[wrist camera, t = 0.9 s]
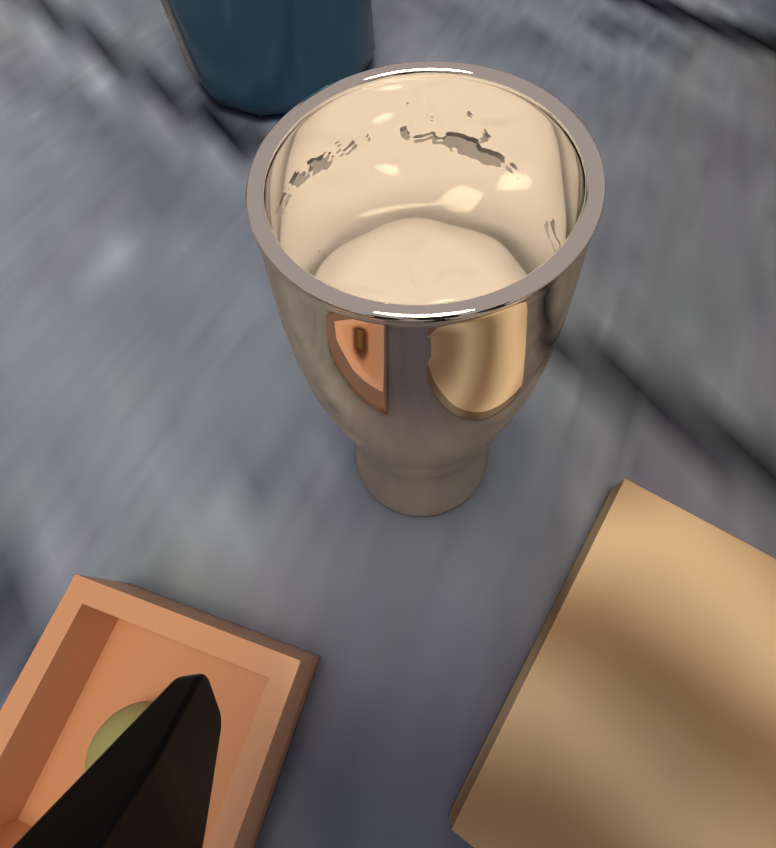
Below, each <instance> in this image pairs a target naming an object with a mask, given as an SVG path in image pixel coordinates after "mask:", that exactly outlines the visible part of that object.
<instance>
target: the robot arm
mask: <svg viewBox="0 0 776 848" xmlns="http://www.w3.org/2000/svg"><path fill="white" fill-rule="evenodd" d="M220 733H221V714H220V710H219V707H218V704H217V701H216V699H215V696H214V693H213V690H212V687H211V684H210V682H209V679H208V677H207V676H206V675H204V674H194V675H187V676H181V677H178V678H176V679H175V680H174V681H172V682H171V683H170V684H169V685H168V686H167V687H166V689H165V690H164V691H163V692H162V693H161V694H160V695H159V696H158V697H157V698H156V699H155V700H154V701H153V702H152V703H151V704H150V705H149V706H148V707H147V708H146V709H145V710H144V711H143V712H142V713H141V714H140V715H139V716H138V717H137V719H136V720H135V721H134V722H133V723H132V724H131V725H130V726H129V727H128V728H127V729H126V730H125V731H124V732H123V733H122V734H121V735H120V736H119V737H118V738H117V739H116V740H115V741H114V742H113V743H112V744H111V745H110V746H109V748H108V749H107V750H106V751H105V752H104V753H103V754H102V755H101V756H100V757H99V758H98V759H97V760H96V761H95V762H94V763H93V764H92V765H91V766H90V767H89V768H88V769H87V770H86V771H85V772H84V773H83V774H82V775H81V777H80V778H79V779H78V780H77V781H76V782H75V783H74V784H73V785H72V786H71V787H70V788H69V789H68V790H67V791H66V792H65V793H64V794H63V795H62V796H61V797H60V798H59V799H58V800H57V801H56V802H55V803H54V804H53V806H52V807H51V808H50V809H49V810H48V811H47V812H46V813H45V814H44V815H43V816H42V817H41V818H40V819H39V820H38V821H37V822H36V823H35V824H34V825H33V826H32V827H31V828H30V829H29V830H28V831H27V832H26V833H25V835H24V836H23V837H22V838H21V839H20V840H19V841H18V842H17V843H16V844H15V845H14V846H13V847H12V848H202V847H203V842H204V836H205V830H206V824H207V818H208V811H209V805H210V798H211V792H212V785H213V778H214V772H215V765H216V759H217V752H218V746H219V739H220Z"/></svg>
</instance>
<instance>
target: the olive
mask: <svg viewBox="0 0 776 848" xmlns="http://www.w3.org/2000/svg"><path fill="white" fill-rule="evenodd" d="M152 702H153V701H143V702H137V703H133V704H130V705H128V706H126V707H123V708H122V709H120V710H118V711H117V712H115V713H114V714H113V715H111V716H110V717H109V718H108V719H107V720H106V721H105V722H104V723H103V724H102V725H101V727H100V728H99V729H98V731H97V732H96V734H95V735H94V737H93V739H92V741H91V743H90V746H89V748H88V751H87V755H86V760H85V771H86V770H87V769H88V768H89V767H90V766H91V765H92V764H93V763H94V762H95V761H96V760H97V759H98V758H99V757H100V756H101V755H102V754H103V753H104V752H105V751H106V750H107V749H108V748H109V746H110V745H111V744H112V743H113V742H114V741H115V740H116V739H117V738H118V737H119V736H120V735H121V734H122V733H123V732H124V731H125V730H126V729H127V728H128V727H129V726H130V725H131V724H132V723H133V722H134V721H135V720H136V719H137V717H138V716H139V715H140V714H141V713H142V712H143V711H144V710H145V709H146V708H147V707H148V706H149V705H150V704H151V703H152Z"/></svg>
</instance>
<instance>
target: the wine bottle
mask: <svg viewBox="0 0 776 848" xmlns="http://www.w3.org/2000/svg"><path fill="white" fill-rule="evenodd" d="M161 2H162V5H163V7H164V10H165V12H166V14H167V17H168V19H169V22H170V24H171V27H172V29H173V32H174V34H175V36H176V39H177V41H178V44H179V46H180V49H181V51H182V53H183V56H184V58H185V61H186V63H187V66H188V68H189V70H190V71H191V72H192V73H193V74H194V75H195V77H196V78H197V79H198V80H199V81H200V83H201V84H202V85H203V86H204V87H205V89H206V90H207V91H208V92H209V93H210V95H211V96H212V97H213V98H214V99H215V100H216V101H217V102H218V103H219V104H220V105H224V106H227V107H231V108H234V109H237V110H241V111H244V112H248V113H251V114H255V115H258V116H262V115H271V114H281V113H287V112H288V111H289V110H290V109H292V108H293V107H294V106H295V105H297V104H298V103H299V102H301V101H302V100H303V99H305V98H306V97H308V96H309V95H311V94H313V93H314V92H316V91H318V90H319V89H321V88H323V87H325V86H327V85H329V84H331V83H333V82H335V81H338V80H340V79H342V78H345V77H347V76H350V75H353V74H356V73H359V72H362V71H364V70H365V69H366V67H367V66H368V65H369V63H370V62H371V58H372V55H373V52H374V49H375V47H374V34H373V22H372V9H371V0H161Z"/></svg>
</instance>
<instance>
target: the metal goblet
mask: <svg viewBox="0 0 776 848" xmlns="http://www.w3.org/2000/svg"><path fill="white" fill-rule="evenodd" d="M604 200H605V173H604V167H603V163H602V159H601V156H600V153H599V151H598V148H597V146H596V144H595V142H594V140H593V138H592V136H591V134H590V133H589V131H588V130H587V128H586V127H585V125H584V124H583V123H582V122H581V120H580V119H579V118H578V117H577V116H576V115H575V114H574V113H573V112H572V111H571V110H570V109H569V108H568V107H567V106H566V105H565V104H564V103H562V102H561V101H560V100H559V99H557V98H556V97H555V96H553V95H552V94H550V93H549V92H547V91H545V90H544V89H542V88H540V87H539V86H537V85H535V84H533V83H531V82H529V81H527V80H524V79H522V78H520V77H517V76H515V75H512V74H509V73H506V72H503V71H500V70H497V69H493V68H489V67H484V66H480V65H474V64H468V63H460V62H448V61H418V62H407V63H399V64H392V65H386V66H381V67H377V68H373V69H369V70H365V71H362V72H359V73H356V74H353V75H350V76H347V77H345V78H342V79H340V80H338V81H335V82H333V83H331V84H329V85H327V86H325V87H323V88H321V89H319V90H318V91H316V92H314V93H313V94H311V95H309V96H308V97H306V98H305V99H303V100H302V101H301V102H299V103H298V104H297V105H295V106H294V107H293V108H292V109H290V110H289V111H288V112H287V113H286V114H285V115H284V116H283V117H282V118H281V119H280V120H279V121H278V122H277V123H276V124H275V125H274V127H273V128H272V129H271V130H270V132H269V133H268V134H267V136H266V137H265V138H264V140H263V142H262V143H261V145H260V147H259V148H258V150H257V152H256V155H255V157H254V159H253V162H252V164H251V167H250V171H249V174H248V179H247V185H246V210H247V216H248V221H249V225H250V228H251V231H252V234H253V236H254V238H255V240H256V242H257V244H258V246H259V249H260V252H261V255H262V259H263V262H264V265H265V269H266V272H267V276H268V279H269V283H270V286H271V290H272V293H273V296H274V300H275V303H276V306H277V309H278V312H279V315H280V319H281V322H282V325H283V328H284V330H285V333H286V335H287V338H288V340H289V343H290V346H291V348H292V351H293V353H294V356H295V358H296V361H297V363H298V365H299V367H300V369H301V371H302V373H303V375H304V377H305V378H306V380H307V382H308V384H309V386H310V388H311V390H312V392H313V394H314V395H315V397H316V399H317V400H318V401H319V403H320V404H321V406H322V407H323V408H324V409H325V411H326V412H327V413H328V415H329V416H330V417H331V418H332V420H333V421H334V422H335V423H336V425H337V426H338V427H339V428H340V429H341V430H342V431H343V432H344V433H345V434H346V435H347V436H348V437H349V438H350V439H351V440H352V441H353V442H354V443H355V461H356V466H357V470H358V473H359V476H360V478H361V480H362V482H363V484H364V485H365V487H366V488H367V490H368V491H369V492H370V493H371V494H372V496H373V497H374V498H375V499H377V500H378V501H379V502H380V503H381V504H383V505H384V506H386V507H388V508H390V509H392V510H394V511H396V512H399V513H402V514H406V515H411V516H432V515H437V514H441V513H444V512H447V511H449V510H451V509H453V508H455V507H457V506H459V505H460V504H462V503H463V502H464V501H466V500H467V499H468V498H469V497H470V496H471V495H472V494H473V492H474V491H475V490H476V489H477V487H478V486H479V484H480V482H481V480H482V478H483V476H484V473H485V469H486V464H487V445H488V444H489V443H490V442H491V441H492V440H493V439H494V438H495V437H496V436H497V435H498V434H499V433H500V432H501V431H502V430H503V429H504V428H505V427H506V426H507V424H508V423H509V422H510V421H511V419H512V418H513V417H514V416H515V414H516V413H517V412H518V411H519V409H520V408H521V407H522V406H523V404H524V403H525V402H526V400H527V399H528V398H529V396H530V394H531V393H532V391H533V389H534V387H535V385H536V384H537V382H538V380H539V378H540V376H541V374H542V373H543V371H544V369H545V367H546V365H547V363H548V361H549V359H550V357H551V354H552V352H553V350H554V347H555V345H556V342H557V340H558V337H559V335H560V332H561V330H562V327H563V325H564V322H565V319H566V316H567V313H568V310H569V307H570V304H571V301H572V298H573V295H574V292H575V289H576V286H577V283H578V279H579V276H580V272H581V269H582V266H583V262H584V259H585V255H586V252H587V249H588V246H589V243H590V240H591V238H592V236H593V234H594V232H595V230H596V228H597V226H598V223H599V221H600V217H601V214H602V210H603V206H604Z"/></svg>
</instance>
